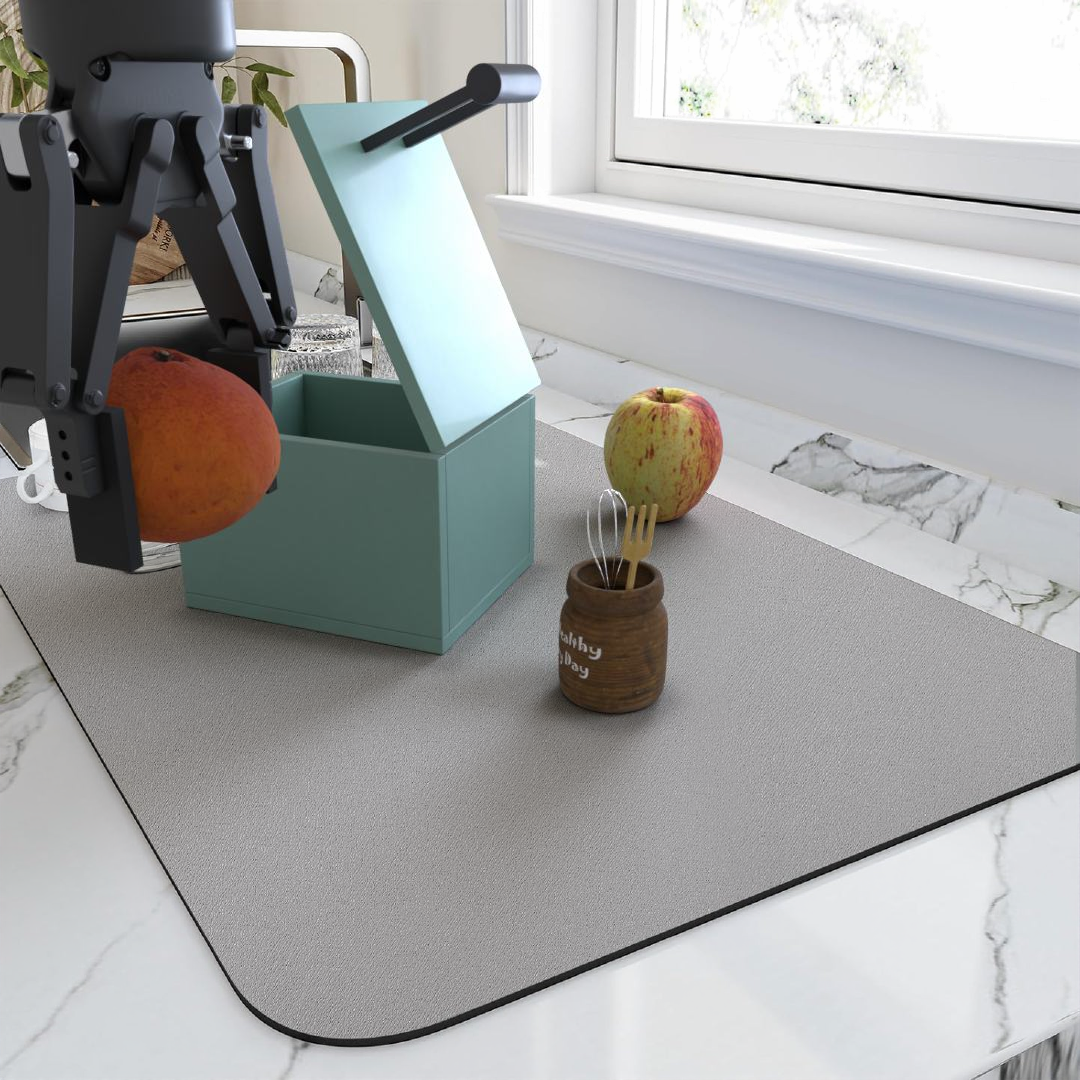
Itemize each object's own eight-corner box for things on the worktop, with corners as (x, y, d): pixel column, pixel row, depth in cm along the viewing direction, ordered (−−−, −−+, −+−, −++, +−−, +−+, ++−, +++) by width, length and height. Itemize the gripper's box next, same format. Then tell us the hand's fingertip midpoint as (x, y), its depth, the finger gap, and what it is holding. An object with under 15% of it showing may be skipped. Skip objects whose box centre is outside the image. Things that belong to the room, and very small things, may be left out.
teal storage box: (185, 606, 73) (164, 424, 69) (309, 526, 86) (298, 369, 82) (442, 655, 68) (438, 459, 63) (534, 562, 81) (535, 394, 76)
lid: (282, 112, 59) (442, 23, 55) (413, 106, 72) (551, 33, 68) (430, 452, 63) (590, 395, 59) (529, 388, 76) (666, 338, 72)
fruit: (302, 553, 48) (290, 366, 45) (75, 581, 45) (46, 382, 42) (270, 484, 56) (258, 320, 53) (74, 504, 53) (49, 330, 50)
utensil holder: (639, 657, 68) (648, 462, 63) (685, 710, 62) (698, 499, 57) (543, 672, 66) (545, 471, 61) (581, 727, 60) (587, 511, 56)
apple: (735, 530, 87) (745, 400, 83) (620, 539, 85) (625, 407, 81) (693, 490, 95) (700, 370, 91) (587, 498, 93) (590, 376, 89)
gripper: (-32, -96, 31) (81, 645, 40) (360, -34, 50) (379, 460, 59) (-233, -89, 34) (-86, 608, 42) (213, -32, 52) (252, 442, 61)
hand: (184, 522), depth 50 cm, fingers closed on fruit, 9 cm apart
